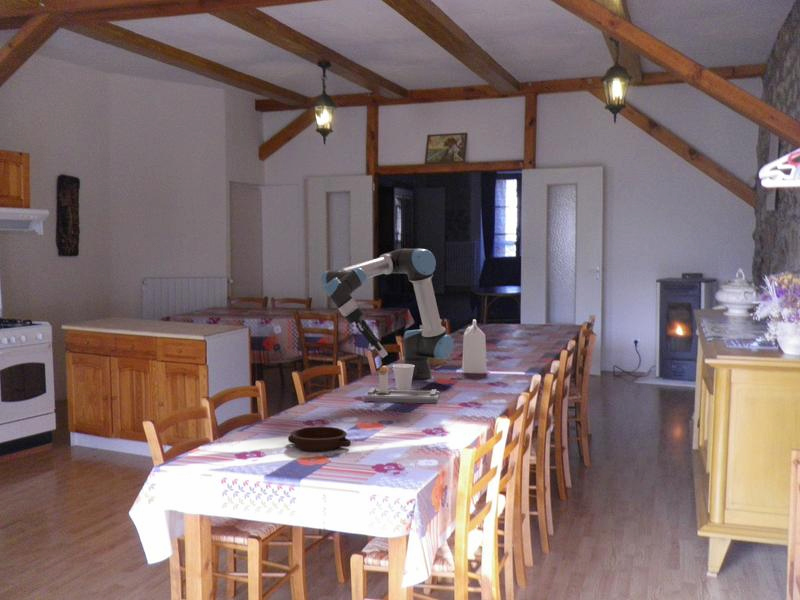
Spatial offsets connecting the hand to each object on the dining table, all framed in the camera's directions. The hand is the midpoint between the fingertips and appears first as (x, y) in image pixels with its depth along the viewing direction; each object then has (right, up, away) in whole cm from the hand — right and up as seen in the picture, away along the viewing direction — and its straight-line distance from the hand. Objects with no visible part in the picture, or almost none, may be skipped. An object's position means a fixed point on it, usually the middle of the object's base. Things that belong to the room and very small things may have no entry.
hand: (385, 355), depth 332 cm
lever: (-1, -16, +1) cm, 16 cm away
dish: (-20, -25, -75) cm, 81 cm away
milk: (+44, -13, +69) cm, 83 cm away
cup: (+8, -17, +19) cm, 27 cm away
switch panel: (+7, -18, 0) cm, 20 cm away
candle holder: (+24, -11, +92) cm, 95 cm away
